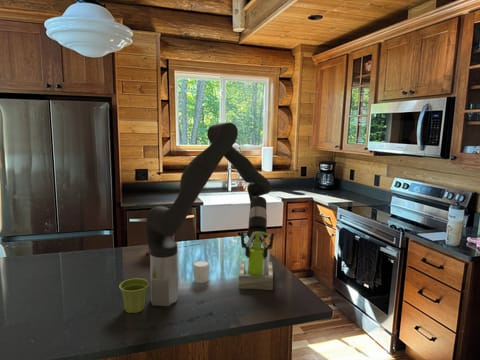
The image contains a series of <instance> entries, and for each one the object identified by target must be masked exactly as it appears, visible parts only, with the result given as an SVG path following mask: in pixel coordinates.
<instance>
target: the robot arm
mask: <svg viewBox="0 0 480 360" xmlns="http://www.w3.org/2000/svg"><path fill="white" fill-rule="evenodd" d="M206 135H207V139H208V141H209V143H210V144H209V146H208V147H207V148H205V149H204V150H203V151H201V152H200V153H198V155H196V156H195V157H194V158H193V159H192V160H191V161H190V163H188V165H187V166H186V168H185V169H184V170H183V172H182V174H181V177H180V182H179V193H178V195H177V197H176V199H175V200H174V202H173V203H172V205H171V206H170V207H165V206H161V205H158V206H154V207H152V208H150V210H149V212H148V213H147V216H146V222H145V227H146V228H145V230H146V241H147V248H148V247H149V249H150V255H149V259H150V260H149V264H150V265H149V266H150V267H149V268H150V269H149V270H150V302H151V305H152V306H158V307H159V306H161V307H170V306H171V305H172V304H174V303H176V302H177V301H178V298H179V294H178V290H179V288H178V244H177V243H176V241H175V240H174V241H173V240H172V239H171V237H170V236H173V235H174V236H175V235H177V233H178V232H179V231H180V230H181V228H182V226H183V224H185V221H186V219H187V216H188V215H189V213H190V211H191V209H192V207H193V205H194V204H195V202H196V200H197V198H198V197H199V195H200V194H201V191H202V190H203V189H204V188H205V186H206V185H207V183H208V182H209V180H210V178H211V177H212V175H213V174H214V171H215V170H216V169H217V168H218V166H219V164H220V162H221V161H222V160H223V158H225V159H226V160H227V161H228V162H229V163H230V164H231V165H232V167H233V168H234V169H235V170H236V171H237V173H238V174H239V175H240V177H241V178H242V180H243V181H244V182H245V183H248V185H247V187H246V188H247V189H246V190H247V194H248V197H249V203H250V205H249V207H250V208H249V214H248V227H247V228H248V229H247V232H244V231H240V243H241V245H240V246H241V248H244V249H245V253H244V254H245V257H246V258H247V259H249V248H250V247H252V246H253V240H254V239H255V235H254V232H266V233H268V231H267V228H268V227H267V226H268V223H267V222H268V214H267V200H266V198H265V197H263V196H264V195H268V194H269V193H270V192H271V190H272V185H271V183H270V181H269V179H267V178H266V177H265V176H264V175H263V174H262V173H260V172H259V171H258V170H257V168H255V166H254V164H253V163H252V162H251V160H250V159H249V158H247V156H245V155H244V154H243V153H241V152H240V151H238V150H237V149H236V148H235V147H234V146H233V145H235V143H236V141H237V139H238V135H239V131H238V128H237V125H236V124H235V123H233V122H230V121H229V122H228V121H225V122H220V123H215V124H212V125H210V126H209V127H208V129H207V133H206ZM247 237H248V238H249V239H248V240H247V242H246V243H245V239H246V238H247ZM267 237H268V239H269V244H267V242H266V238H267ZM260 240H261V241H262V242H261V246H263V247H262V248H263V249H264V260H266V259H267V257H268V255H269V254H268V253H269V252H268V250H272V249H273V244H274V240H275V233H274V232H272V233H268V235H260Z"/></svg>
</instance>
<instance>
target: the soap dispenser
mask: <svg viewBox="0 0 480 360" xmlns="http://www.w3.org/2000/svg"><path fill="white" fill-rule="evenodd" d="M254 235H255V239H254V240H253V243H252V246H250V247H249V258H248V264H247V265H248V266H247V275H264V274H263V273H264V260H265V259H264V247H262V243H261V242H262V241H261V240H260V235H268V232H267V233H266V232H254Z"/></svg>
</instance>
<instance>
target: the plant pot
mask: <svg viewBox="0 0 480 360" xmlns="http://www.w3.org/2000/svg"><path fill="white" fill-rule="evenodd" d="M149 286H150V282H149V281H148V280H147V279H145V278H136V277H135V278H129V279H125V280H124V281H122V282H121V283H119V286H118V287H119V289H120V292H121V293H122V294H121V295H122V300H123V306H124V310H125V312H126V313H128V314H131V313H133V314H138V313H139V312H142V311H144V308H145V304H146V297H147V296H146V295H147V291H148V287H149Z"/></svg>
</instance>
